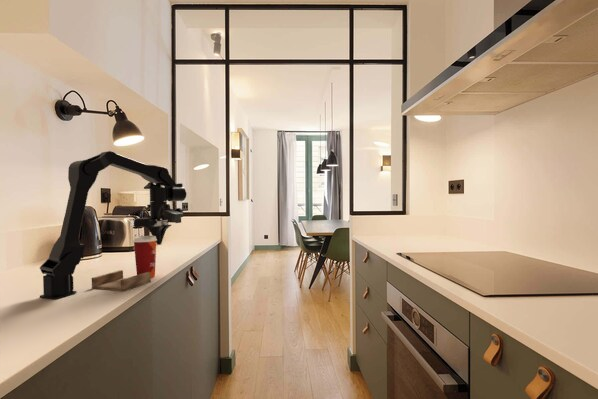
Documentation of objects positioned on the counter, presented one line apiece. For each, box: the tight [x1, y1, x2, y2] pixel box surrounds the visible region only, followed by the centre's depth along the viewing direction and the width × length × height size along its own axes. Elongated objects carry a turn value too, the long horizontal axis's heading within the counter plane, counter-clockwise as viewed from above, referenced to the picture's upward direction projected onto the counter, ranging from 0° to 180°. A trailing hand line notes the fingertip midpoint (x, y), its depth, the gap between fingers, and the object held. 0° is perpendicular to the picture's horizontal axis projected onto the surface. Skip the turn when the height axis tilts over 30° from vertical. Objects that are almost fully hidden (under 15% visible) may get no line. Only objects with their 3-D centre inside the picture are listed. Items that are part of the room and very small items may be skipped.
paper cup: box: [132, 235, 157, 279], centre depth 120 cm, size 8×8×14 cm
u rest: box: [91, 269, 152, 292], centre depth 110 cm, size 11×12×3 cm
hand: (159, 244), depth 127 cm, fingers closed
